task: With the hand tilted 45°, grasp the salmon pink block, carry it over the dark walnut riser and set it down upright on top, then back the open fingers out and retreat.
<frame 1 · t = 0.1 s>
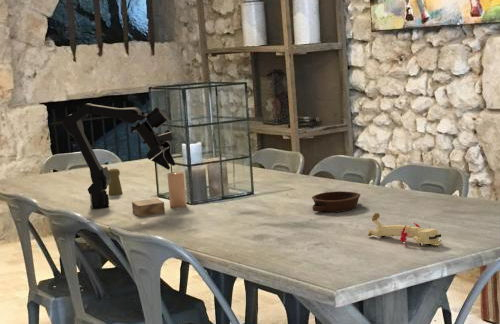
hand: (172, 167, 347), 15 cm above the table, tool tilted 35°, fingers open, 9 cm apart
walnut riser: (148, 212, 336), on the table
cork: (115, 194, 380), on the table
salmon pink block: (178, 206, 344), on the table
cat figure: (405, 242, 267), on the table
dish: (336, 209, 320), on the table
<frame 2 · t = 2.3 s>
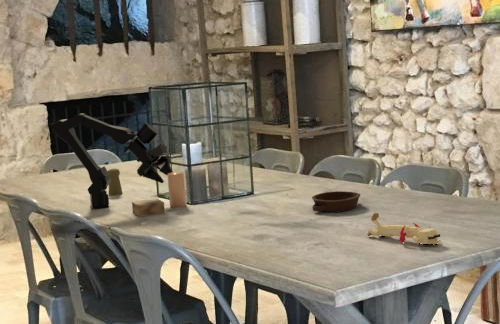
hand: (168, 180, 344), 10 cm above the table, tool tilted 45°, fingers open, 9 cm apart
nothing on the table moved.
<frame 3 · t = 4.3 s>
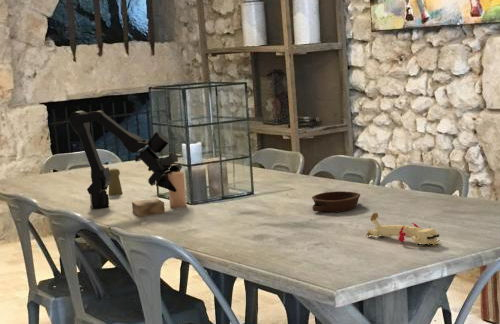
hand: (180, 189, 343), 7 cm above the table, tool tilted 45°, fingers closed on salmon pink block, 6 cm apart
salmon pink block: (178, 206, 344), on the table, touching gripper
everything else where it was.
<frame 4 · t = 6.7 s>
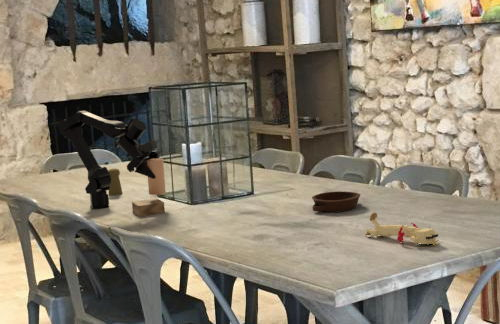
hand: (159, 176, 336), 13 cm above the table, tool tilted 45°, fingers closed on salmon pink block, 6 cm apart
salmon pink block: (157, 193, 338), point 7 cm above the table, touching gripper
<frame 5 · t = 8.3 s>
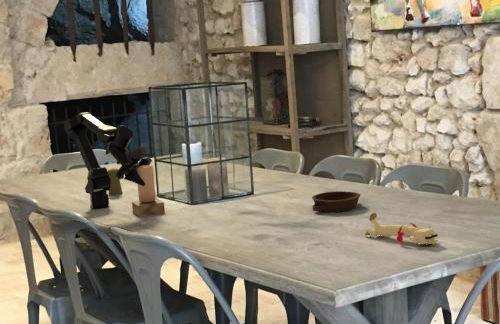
hand: (149, 183, 334), 11 cm above the table, tool tilted 45°, fingers closed on salmon pink block, 6 cm apart
salmon pink block: (147, 200, 335), point 5 cm above the table, touching gripper
when the fingers open (11 cm above the table, at t = 9.4 s): salmon pink block stays where it is, resting on walnut riser.
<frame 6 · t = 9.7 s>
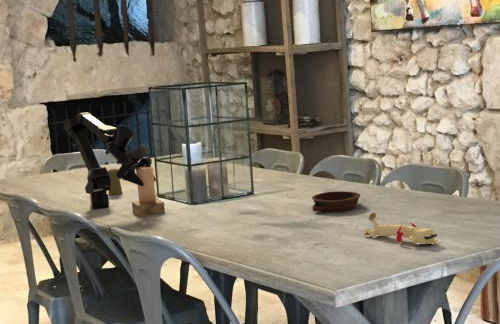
hand: (149, 183, 334), 11 cm above the table, tool tilted 45°, fingers open, 9 cm apart
salmon pink block: (147, 202, 335), point 4 cm above the table, touching walnut riser
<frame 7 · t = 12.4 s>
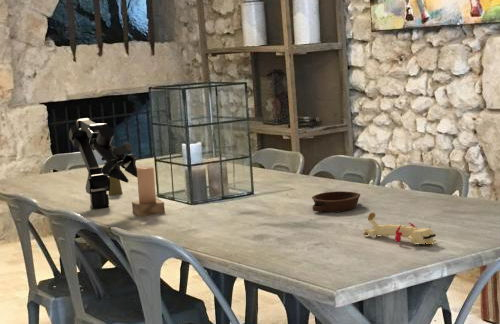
hand: (134, 179, 337), 13 cm above the table, tool tilted 45°, fingers open, 9 cm apart
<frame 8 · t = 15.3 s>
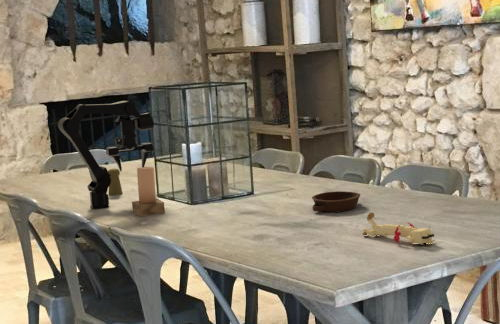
hand: (131, 169, 358), 13 cm above the table, tool pointing down, fingers open, 9 cm apart
at the end: salmon pink block 0.1 cm off-centre on the walnut riser, point 4.1 cm above the walnut riser's base; salmon pink block tilted 1°; the gripper is holding nothing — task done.
